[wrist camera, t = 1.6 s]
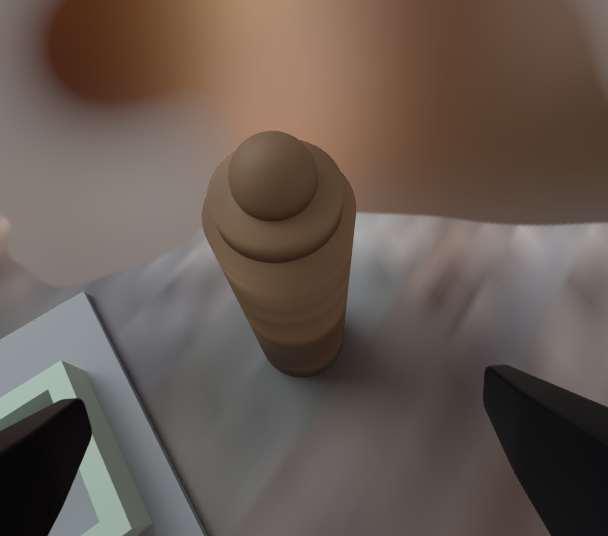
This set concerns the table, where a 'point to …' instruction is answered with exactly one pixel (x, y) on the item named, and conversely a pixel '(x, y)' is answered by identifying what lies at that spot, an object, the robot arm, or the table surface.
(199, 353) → the table surface
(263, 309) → the pepper mill
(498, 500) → the table surface
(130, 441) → the well board
